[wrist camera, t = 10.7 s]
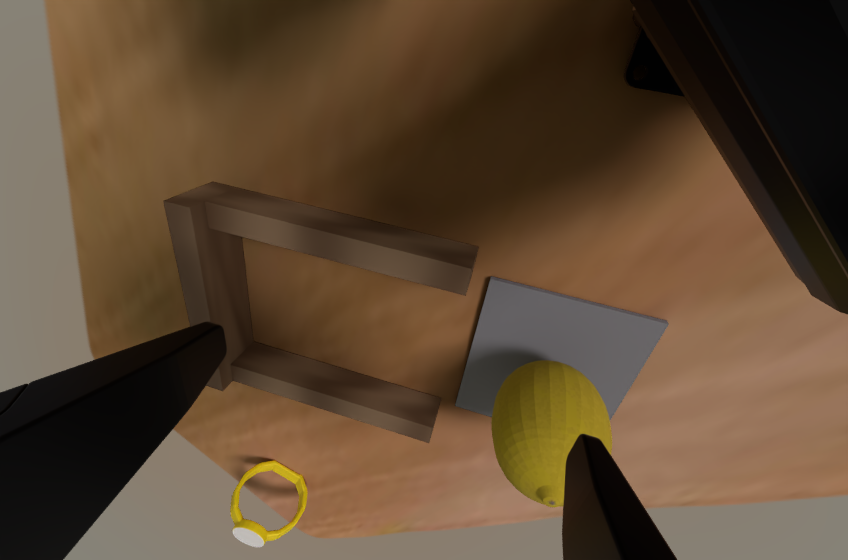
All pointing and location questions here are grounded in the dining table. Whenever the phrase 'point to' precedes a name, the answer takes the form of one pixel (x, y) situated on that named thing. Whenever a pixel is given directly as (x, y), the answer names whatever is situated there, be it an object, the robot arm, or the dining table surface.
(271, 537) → the watch
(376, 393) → the shelf lane
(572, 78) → the dining table surface
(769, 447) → the dining table surface
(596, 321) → the mat
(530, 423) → the lemon
